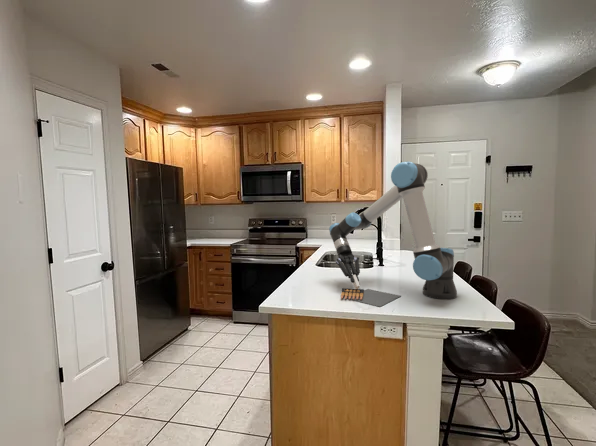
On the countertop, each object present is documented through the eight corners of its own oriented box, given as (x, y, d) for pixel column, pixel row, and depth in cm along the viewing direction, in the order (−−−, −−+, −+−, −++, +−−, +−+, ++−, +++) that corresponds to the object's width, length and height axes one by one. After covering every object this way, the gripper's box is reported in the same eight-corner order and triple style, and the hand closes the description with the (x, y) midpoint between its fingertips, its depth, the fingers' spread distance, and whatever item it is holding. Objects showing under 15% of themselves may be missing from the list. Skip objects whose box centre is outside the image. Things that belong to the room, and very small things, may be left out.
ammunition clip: (363, 289, 153) (363, 297, 141) (363, 292, 153) (363, 301, 142) (342, 288, 155) (339, 296, 144) (342, 291, 156) (339, 300, 144)
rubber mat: (400, 296, 149) (401, 295, 149) (380, 307, 134) (380, 306, 134) (367, 289, 161) (367, 288, 161) (345, 298, 147) (345, 297, 147)
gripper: (351, 252, 170) (367, 290, 155) (329, 253, 166) (342, 292, 151) (356, 243, 164) (372, 282, 150) (333, 244, 161) (347, 284, 146)
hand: (357, 287), depth 151 cm, fingers closed
